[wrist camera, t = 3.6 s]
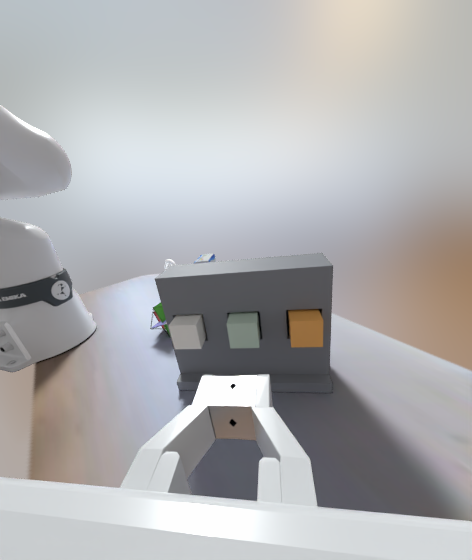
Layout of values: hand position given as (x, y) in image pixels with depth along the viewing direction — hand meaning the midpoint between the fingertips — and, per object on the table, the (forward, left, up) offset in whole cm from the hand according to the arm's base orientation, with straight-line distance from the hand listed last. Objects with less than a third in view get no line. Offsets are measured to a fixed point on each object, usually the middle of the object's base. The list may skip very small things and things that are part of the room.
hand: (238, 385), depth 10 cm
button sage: (-2, +15, -9) cm, 18 cm away
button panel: (-2, +18, -16) cm, 24 cm away
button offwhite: (-9, +15, -9) cm, 20 cm away
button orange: (+5, +15, -9) cm, 18 cm away
